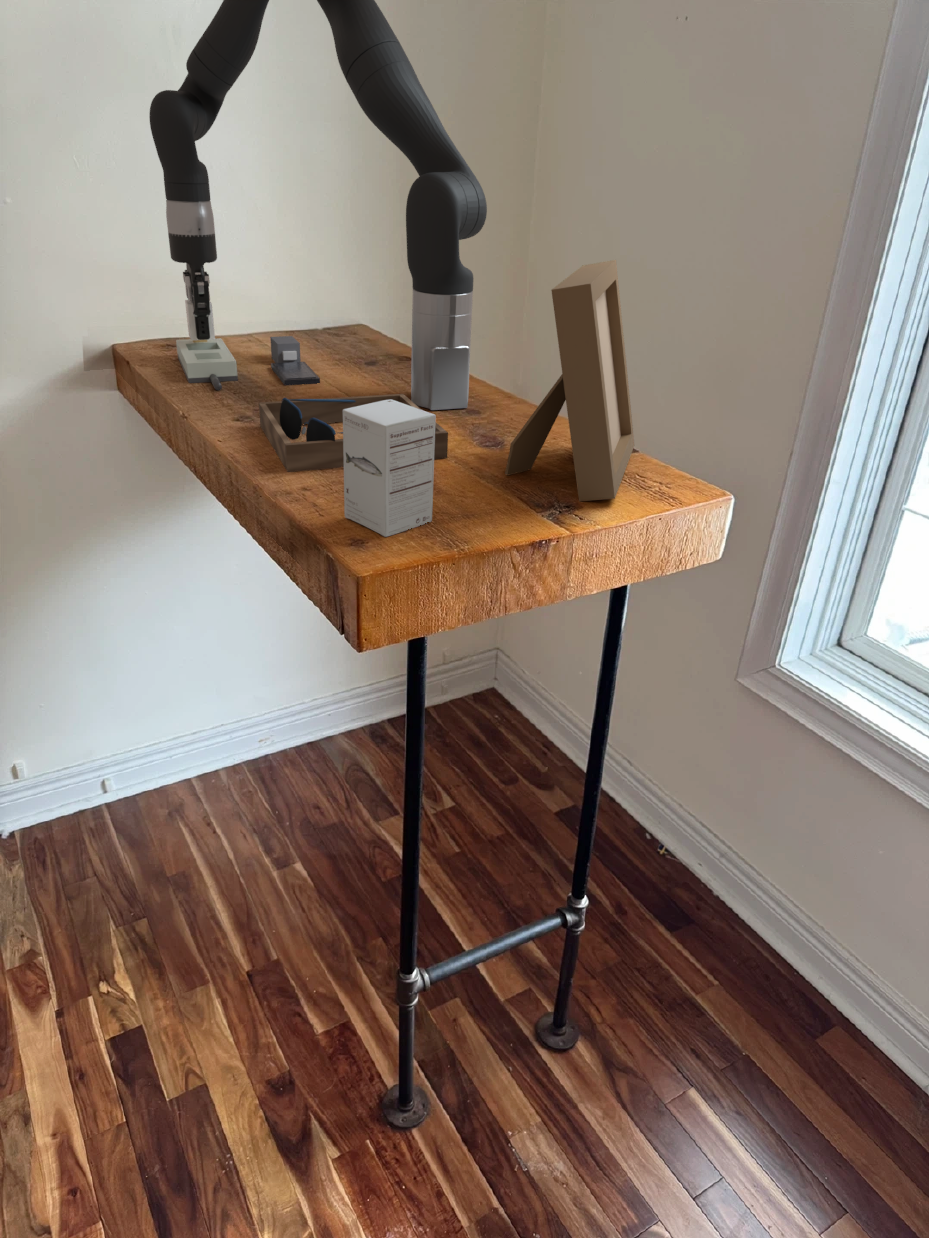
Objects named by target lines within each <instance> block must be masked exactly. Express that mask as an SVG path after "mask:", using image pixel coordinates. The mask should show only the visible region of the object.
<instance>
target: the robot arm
mask: <svg viewBox="0 0 929 1238" xmlns="http://www.w3.org/2000/svg"><path fill="white" fill-rule="evenodd" d="M269 1H270V0H222V2H221V4H220V6H219V8H218V9H217V11H216V13H215V15H214V16H213V18H212V20H211V21H210V23H209V24H208V26H207V27H206V29H205V31H204V32H203V33H202V35H201V37H200V38H199V39H198V41H197V43H196V44H195V46H194V47H193V49H192V51H191V52H190V54H189V55H188V58H187V60H186V63H185V64H186V71H187V75H186V77H185V78H184V81H183V83H182V84H181V86H180V87H179V89H178V90H171V89H165V90H162V91H160V92H158V93H156V95H154V97H153V99H152V100H151V103H150V106H149V107H150V108H149V125H150V132H151V135H152V138H153V139H152V140H153V143H154V146H155V149H156V153H157V157H158V159H159V162H160V165H161V168H162V171H163V172H162V173H163V186H164V193H165V194H164V195H165V202H166V203H165V204H166V205H165V208H166V209H165V211H166V212H165V213H166V215H165V216H166V225H167V234H168V242H169V252H170V259H171V260H172V261H174V262H175V263H180V264H181V263H182V264H185V267H186V269H184V271H182V278H183V282H184V284H185V285H184V286H185V287H184V288H185V295H186V298H187V300H189V302H190V303H192V304H193V315H194V317H195V326H196V336H197V338H198V339H199V340H208V339H209V338H210V331H209V320H208V317H209V315H210V313H211V311H210V304H209V301H210V302H211V294H210V288H209V287H210V283H211V281H210V274H209V273H208V272H207V271H205V267H204V265H205V264H206V263H208V264H210V263H214V262H216V261H217V260H218V253H217V252H218V251H217V242H216V229H215V219H214V213H213V208H212V202H211V192H210V180H209V173H208V169H207V166H206V165H205V164H204V163H203V162H202V161H201V160H200V159H199V156H198V151H197V146H196V145H197V144H196V142H197V141H199V140H201V139H202V138H203V137H205V135H207V133H209V130H210V129H211V128H212V126H213V125H214V123H215V121H216V120H217V117H218V115H219V113H220V110H221V108H222V106H223V105H224V104H223V103H224V101H225V98H226V95H227V94H228V92H229V91H230V90H231V88H232V87H233V86H234V84H235V83H236V81H237V80H238V79H239V77H240V76H241V74H242V73H243V72H244V70H245V69H246V67H247V65H248V64H249V62H250V60H251V58H252V57H253V56H254V52H255V50H256V47H257V44H258V41H259V37H260V32H261V29H262V24H263V21H264V16H265V13H266V10H267V7H268V4H269ZM316 1H317V3H318V4H319V5H318V6H320V8H321V10H322V11H323V13H324V14H325V17H326V19H327V21H328V23H329V26H330V29H331V33H332V37H333V41H334V47H335V52H336V57H337V61H338V64H339V67H340V70H341V72H342V74H343V77H344V78H345V80H346V83H347V84H348V87H349V88H350V90H351V92H352V94H353V96H354V97H355V99H356V102H357V103H358V105H359V107H360V109H361V110H362V111H363V113H364V114H365V115H366V117H367V118H368V119H369V120H370V121H371V123H372V124H373V125H374V126H375V127H376V129H378V130H379V131H380V133H382V134H383V135H384V136H385V137H386V138H387V139H388V140H389V141H390V142H391V143H392V144H393V145H394V146H395V147H396V148H397V149H398V150H399V151H400V152H402V154H403V155H404V156H405V157H406V158H407V159H408V161H409V162H410V163H411V164H412V166H413V168H414V169H415V171H416V172H417V174H418V177H417V178H416V179H415V180H414V181H413V183H412V184H411V185H410V186H411V187H410V188H409V191H408V194H407V199H406V206H405V232H406V235H405V236H406V258H407V259H406V261H407V265H408V270H409V273H410V275H411V279H412V298H411V299H412V305H411V306H412V309H411V311H412V313H411V363H410V364H411V371H410V375H411V380H410V382H411V383H410V384H411V385H410V387H411V388H410V389H411V390H410V393H411V394H410V400H411V401H412V402H413V403H414V404H415V405H417V406H418V407H422V408H426V409H429V410H430V411H438V410H439V411H440V410H441V411H442V410H453V409H454V410H455V409H467V408H468V403H469V391H470V388H469V387H470V367H471V366H470V364H471V360H470V359H471V343H472V339H471V337H472V320H473V319H472V318H473V317H472V316H473V301H474V300H473V298H474V297H473V296H474V273H473V272H472V270H471V269H469V268H467V266H464V265H463V262H462V261H461V259H460V258H461V257H460V241H461V240H462V241H463V240H467V239H470V238H473V237H474V236H476V235H478V234H479V233H480V232H481V230H482V229H483V227H484V226H485V223H486V220H487V212H488V205H487V200H486V196H485V192H484V190H483V188H482V185H481V183H480V181H479V180H478V178H477V176H476V175H475V173H474V172H473V170H472V169H471V167H470V166H469V165H468V163H467V161H466V160H465V158H464V157H463V156H462V155H463V154H461V152H460V151H459V150H458V147H457V146H456V145H455V143H454V142H453V141H452V139H451V137H450V135H449V133H448V132H447V131H446V129H445V127H444V125H443V123H442V122H441V120H440V118H439V115H438V113H437V112H436V110H435V108H434V106H433V104H432V102H431V101H430V99H429V97H428V95H427V93H426V91H425V89H424V88H423V85H422V84H421V82H420V80H419V78H418V76H417V74H416V72H415V69H414V67H413V65H412V63H411V61H410V59H409V58H408V55H407V53H406V51H405V50H404V48H403V46H402V45H401V43H400V41H399V39H398V38H397V35H396V34H395V32H394V30H393V28H392V27H391V26H390V23H389V22H388V20H387V17H385V15H384V13H383V11H382V10H381V8H380V6H379V5H378V3H377V2H376V0H316ZM198 303H204V304H205V308H198Z"/></svg>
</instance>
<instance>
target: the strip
mask: <svg viewBox="0 0 929 1238" xmlns="http://www.w3.org/2000/svg"><path fill="white" fill-rule="evenodd" d="M175 342H176V343H175V344H176V345H175V346H176V353H177V358H178V361H179V364H180V365H181V368H182V370H183V372H184V375H185V378H186V380H187V382H188V384H197V383H211V384H212V386H213V387H214V388H213V389H214V390H216V391H221V390H222V388H223V385H222V384H221V382H235V381H239V378H238V376H239V375H238V366H237V360H236V359H235V357H234V355H233V354H232V352H231V351H230V349H229V348H228V346H227V344H226V343H225V342H224V340H223V339H222V337H221V338H216V337H215V340H191V339H190V338H188V339H175Z"/></svg>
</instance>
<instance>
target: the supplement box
mask: <svg viewBox="0 0 929 1238" xmlns="http://www.w3.org/2000/svg"><path fill="white" fill-rule="evenodd" d="M420 409H421V408H420ZM420 409H417V408H415V407H412V406H409V405H406V404H403V403H401V402H398V401H395V400H392V399H389V400H383V401H378V402H374V403H369V404H365V405H360V406H356V407H351V408H347V409H344V410H343V422H342V432H343V434H342V439H343V456H344V467H343V499H344V501H343V502H344V503H343V504H344V505H343V506H344V507H343V509H344V510H343V511H344V518H345V519H348V520H351V521H353V522H355V523H357V524H359V525H361V526H364V527H366V528H368V529H369V530H372V531H374V532H376V533H378V534H380V535H381V536H382V537H384V538H388V537H390V536H393V535H397V534H399V533H403V532H406V531H408V529H409V530H411V528H412V529H414V528H417V527H418V528H419V527H420V525H421V526H424V525H426V524H428V523H427V522H429V523H431V522H432V521H433V503H434V502H433V499H434V479H435V478H434V475H435V459H434V448H435V422H437V421H436V419H437V417H436V414H434V413H431V412H428V411H425V410H423V409H421V410H420ZM425 523H426V524H425Z"/></svg>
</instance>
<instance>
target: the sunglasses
mask: <svg viewBox="0 0 929 1238" xmlns="http://www.w3.org/2000/svg"><path fill="white" fill-rule="evenodd" d="M281 401H282V403H281V407H280V424H281V428H282V430H283V431H284V433H285V434H286V436H287V437H288V439H289V440H292V441H294V440H298V439H299V438H300V436H301V435H305V434H306V435H305V442H309V441H322V440H332V441H335V439H336V435H337V432H336V430H335V428H333V426H331V425H330V424H329V423H328V424H327V423H325V422H323V421H321V420H318V419H316V418H311V419H310V420H309V421H310V422H309V421H308V423H307V422H305V423H304V425H302V420H301V419H302V414H301V411H300V409H299V408H298V407H297V406H296V405H294V404H293V403H292V402H291V401H315V402H356V401H354V400H341V399H326V398H287V397H283V398H282V399H281ZM312 419H313V420H312ZM306 423H307V424H308V425H305V424H306ZM302 426H303V427H302ZM339 434H342V435H343V431H341V432H339Z"/></svg>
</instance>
